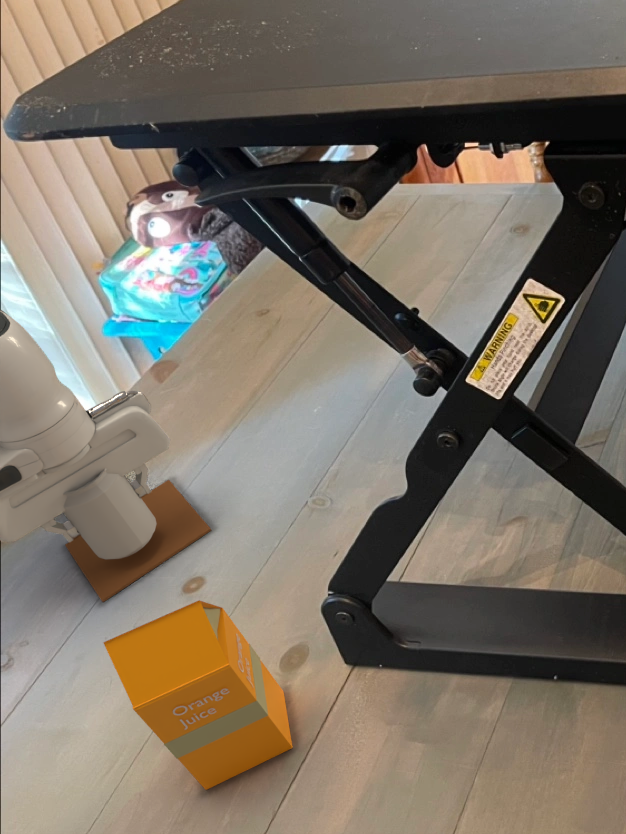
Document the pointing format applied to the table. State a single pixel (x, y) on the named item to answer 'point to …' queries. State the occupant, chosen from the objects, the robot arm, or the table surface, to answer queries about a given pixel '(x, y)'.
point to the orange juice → (203, 692)
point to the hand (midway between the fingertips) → (109, 514)
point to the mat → (169, 538)
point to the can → (110, 516)
